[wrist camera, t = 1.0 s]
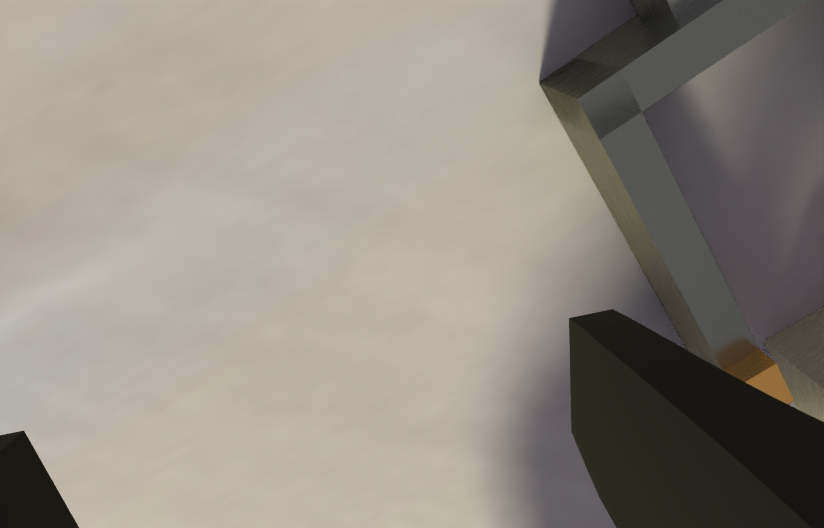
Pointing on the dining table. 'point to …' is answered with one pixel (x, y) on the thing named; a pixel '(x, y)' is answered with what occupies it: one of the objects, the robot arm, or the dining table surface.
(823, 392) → the link block
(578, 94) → the keeper
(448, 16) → the dining table surface
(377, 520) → the dining table surface
